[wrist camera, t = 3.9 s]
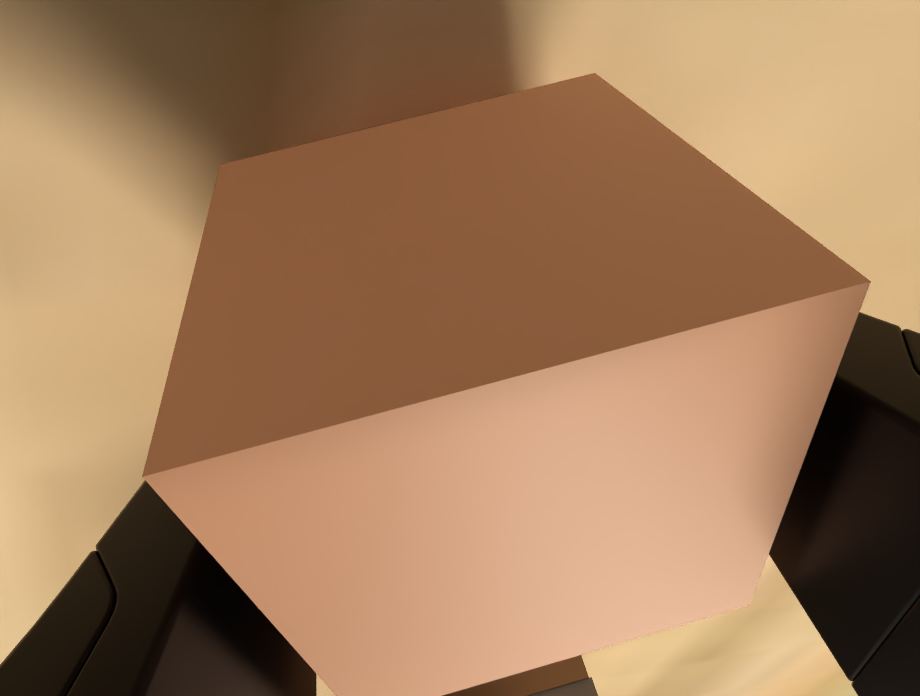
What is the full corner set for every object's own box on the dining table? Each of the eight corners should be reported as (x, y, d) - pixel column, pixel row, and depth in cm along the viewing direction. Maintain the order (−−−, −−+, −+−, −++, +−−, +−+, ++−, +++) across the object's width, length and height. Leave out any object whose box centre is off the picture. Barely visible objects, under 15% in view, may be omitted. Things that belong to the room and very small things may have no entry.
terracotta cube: (594, 72, 8) (870, 280, 4) (597, 350, 11) (748, 606, 7) (220, 164, 8) (141, 477, 4) (337, 419, 11) (357, 721, 7)
